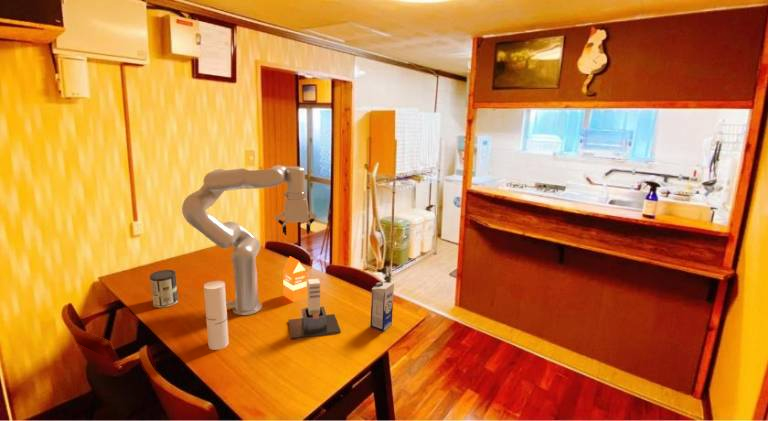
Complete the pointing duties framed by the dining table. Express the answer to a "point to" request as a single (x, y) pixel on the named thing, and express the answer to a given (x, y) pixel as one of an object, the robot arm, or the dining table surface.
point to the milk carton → (382, 306)
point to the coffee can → (164, 288)
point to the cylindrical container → (216, 314)
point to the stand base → (313, 325)
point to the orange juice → (294, 280)
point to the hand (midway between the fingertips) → (296, 233)
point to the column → (313, 296)
